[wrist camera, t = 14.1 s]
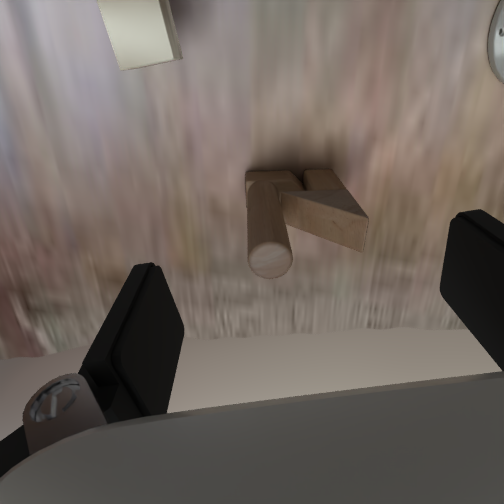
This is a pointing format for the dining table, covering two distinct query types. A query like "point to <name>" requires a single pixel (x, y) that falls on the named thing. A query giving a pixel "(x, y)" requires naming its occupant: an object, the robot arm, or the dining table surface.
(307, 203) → the wooden block
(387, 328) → the dining table surface
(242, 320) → the dining table surface
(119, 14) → the birch bar
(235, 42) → the dining table surface
